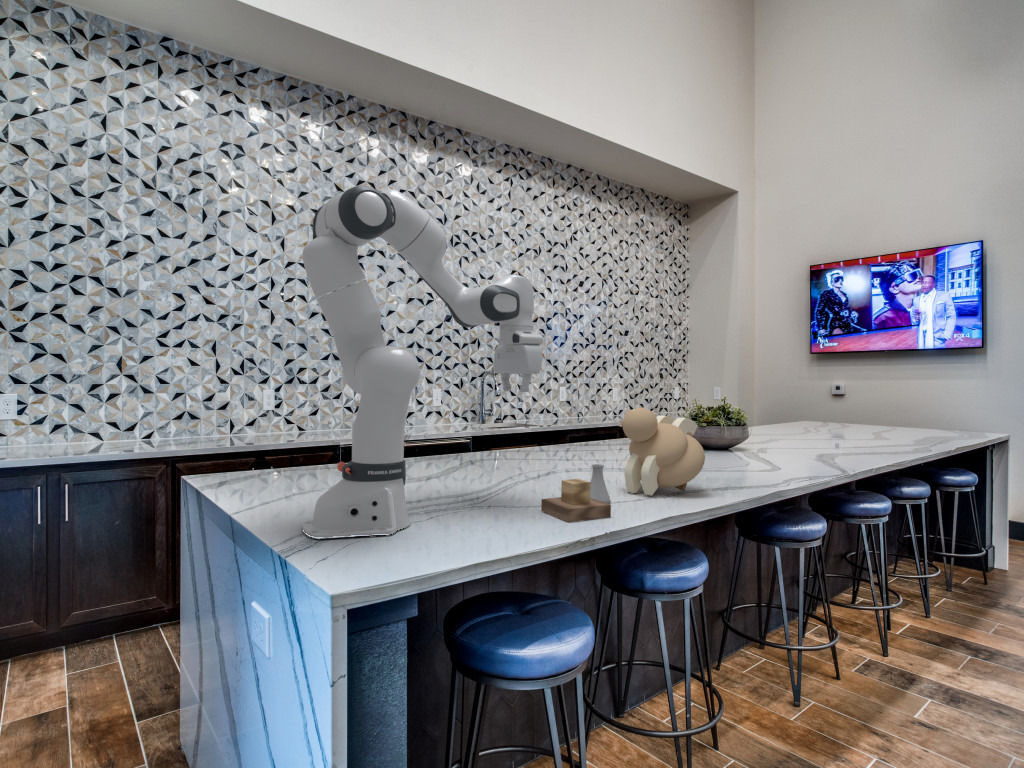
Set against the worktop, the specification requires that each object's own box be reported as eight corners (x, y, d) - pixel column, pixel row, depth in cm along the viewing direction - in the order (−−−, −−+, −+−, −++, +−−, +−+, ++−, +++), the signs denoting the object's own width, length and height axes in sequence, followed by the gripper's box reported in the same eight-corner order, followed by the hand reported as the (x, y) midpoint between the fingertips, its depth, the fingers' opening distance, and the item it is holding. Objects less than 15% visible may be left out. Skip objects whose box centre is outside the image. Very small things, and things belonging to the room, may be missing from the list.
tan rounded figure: (635, 377, 179) (702, 379, 162) (667, 442, 192) (733, 449, 175) (585, 447, 164) (653, 457, 147) (624, 511, 177) (691, 527, 160)
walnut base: (568, 522, 132) (568, 509, 132) (541, 511, 143) (541, 499, 143) (610, 517, 138) (610, 504, 138) (581, 506, 149) (581, 495, 149)
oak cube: (572, 504, 137) (573, 483, 137) (561, 500, 142) (561, 480, 141) (590, 502, 139) (590, 482, 139) (578, 498, 144) (578, 478, 144)
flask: (609, 499, 158) (610, 463, 158) (611, 505, 151) (612, 467, 150) (583, 498, 159) (583, 462, 158) (583, 504, 151) (584, 466, 151)
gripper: (488, 339, 159) (487, 390, 159) (524, 335, 141) (523, 392, 141) (508, 340, 162) (507, 390, 162) (546, 337, 144) (545, 392, 144)
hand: (515, 391), depth 151 cm, fingers open, 8 cm apart
